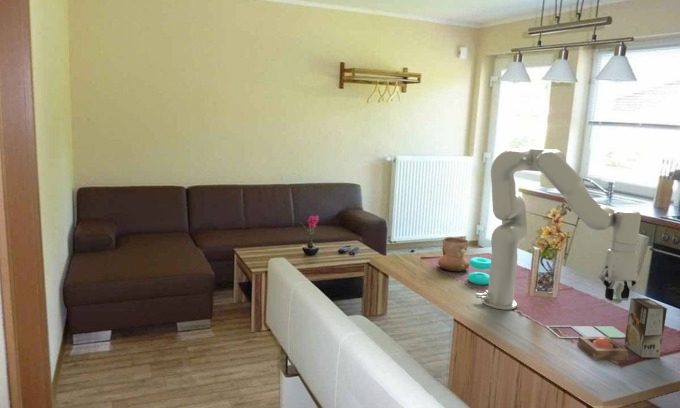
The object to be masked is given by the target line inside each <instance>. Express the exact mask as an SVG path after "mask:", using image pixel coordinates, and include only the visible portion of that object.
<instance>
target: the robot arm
mask: <svg viewBox="0 0 680 408" xmlns="http://www.w3.org/2000/svg"><path fill="white" fill-rule="evenodd" d="M521 171H532V172H540V174H542V175H543V177H545V178H546V180H547V181H548V182H549V183H550V184H551V185H552V186H553V187H554V188H555V189H556V190H557V191H558V192H559V193H560V195H562V197H563V199H564V201H565V202H566V203H567V204H568V206H569V207H570V209H571V210H572V212H573V213H574V214H575V215H576V216H577V218H579V220H581V222H583V223H584V224H585V226H587V227H588V228H589V229H591V230H593V231H595V232H603V231H605V230H607V229H608V228H610V229H611V228H612V236H611V242H610V248H609V249H607V251H606V253H605V257H604V259H603V264H602V268H601V269H602V270H601V273H600V274H599V276H597V280H599V281H600V282H602V284H603V285H604V287H605V293H604V297H605V298H607V299H609V300H613V294H614V292H615V289H614V288H613V287H614V285H615V283H616V281H617V282H618V281H619V282H620V281H621V282H623V283H622V285H623V286H624V289H623V291H622V292H621V298H628V299H629V297H630V291H631V290H632V288H633V287H634V286H635V285H636V283H638V282H640V280H641V279H642V278H641V276H640V275H639V273H638V271H639V254H638V251H637V249H638V248H640V247H641V246H640V243H638V241H639V233H640V225H641V221H642V220H641V219H642V216H641V212H639V211H638V210H637V211H636V210H631V209H620V208H615V207H611V206H608V205H600V204H599V203H597V201H596V200H595V199H594V198H593V197H592V196H591V194H590V193H589V192H588V190H587V187H586V184H585V181H584V179H583V178H582V176H580V174H579V173H578V172H576V171H575V170H574V168H573V167H572V166H570V165H569V163H568V162H567V158H566V155H565V154H564V153H563V152H562V151H560V150H559V149H550V148H549V149H548V148H545V149H544V148H532V147H518V148H517V147H516V148H509V149H506V150H505V151H503V152H501V153H500V154H498V156H496V157H495V158H494V160H493V162H492V165H491V168H490V179H491V181H490V183H491V197H492V198H491V200H492V201H491V202H492V212H493V215H494V217H495V218H496V219H498V220H500V221H501V224H500V225H498V226H497V227H496V228H495V229H494V230H493V232H492V234H491V239H490V240H491V242H490V243H491V244H490V245H491V257H490V258H491V259H490V260H491V267H490V269H489V276H490V277H489V284H488V288H487V289H485V292H483V293H480V292H475V294H474V296H475V299H480V300H481V301H482V302H483V304H484V305H486V306H487V307H489V308H492V309H496V310H502V311H505V310H507V311H509V310H514V309H516V308H517V307H518V303H517V302H516V300H515V299H514V296H515V286H516V276H517V270H518V269H517V268H518V267H517V266H518V246H519V245H521V244H522V243H523V242H524V241H525V240H526V238H527V235H528V225H527V210H526V209H527V208H526V207H527V206H526V203H525V201H524V199H523V197H521V196H520V195H519V194H517V193H516V191H517V190H516V182H515V178H514V175H515V173H517V172H521ZM605 298H604V299H605Z"/></svg>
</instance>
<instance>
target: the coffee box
mask: <svg viewBox="0 0 680 408" xmlns="http://www.w3.org/2000/svg"><path fill="white" fill-rule="evenodd" d="M667 312H668V308H667V307H665V306H663V305H662V304H660V303H657V302H656V301H654V300H652V299H650V298H648V297H645V298H644V297H643V298H641V297H637V298H633V297H632V298H630V303H629V309H628V315H627V316H628V317H627V322H626V323H627V324H626V331H625V335H626V336H625V338H624V345H623V346H625V347H626V348H628V349H629V350H631V351H632V352H633V353H635V354H636V355H638V356H639V357H641V358H660V355H661V351H662V342H663V336H664V330H665V324H666V318H667Z"/></svg>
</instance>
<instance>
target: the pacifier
mask: <svg viewBox="0 0 680 408" xmlns="http://www.w3.org/2000/svg"><path fill="white" fill-rule="evenodd" d="M623 289H624V284H623V283H619V282H618V283H617V285H616V286H615V291H614V294H613V300H609V299H607V298H605V296H604V300H606V301H607V302H609V303H612V304H622V302H623V301H629V297H628V298H621V292H622V291H623Z"/></svg>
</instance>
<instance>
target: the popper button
mask: <svg viewBox="0 0 680 408" xmlns="http://www.w3.org/2000/svg"><path fill="white" fill-rule="evenodd" d="M593 344H594V345H595V346H597V347H598V348H613V345H612V344H611V343H610V341H609V340H608V339H607V338H604V337H600V338H598V339H596V340H594V341H593Z"/></svg>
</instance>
